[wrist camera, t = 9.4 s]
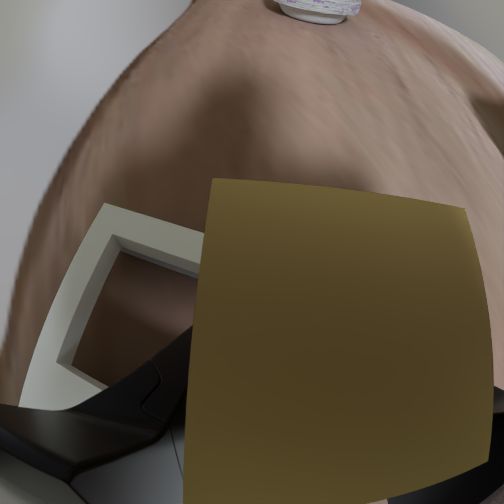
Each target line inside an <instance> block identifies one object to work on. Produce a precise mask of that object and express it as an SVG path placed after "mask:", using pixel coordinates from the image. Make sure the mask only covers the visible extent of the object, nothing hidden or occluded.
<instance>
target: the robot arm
mask: <svg viewBox="0 0 504 504" xmlns="http://www.w3.org/2000/svg"><path fill="white" fill-rule="evenodd" d="M192 331H193V325H192V326H191V327H190V328H189V329H187V330H186V331H185V332H183V333H182V334H181V335H180V336H178V337H177V338H176V339H175V340H173V341H172V342H171V343H169V344H168V345H167V346H166V347H164V348H163V349H162V350H161V351H159V352H158V353H157V354H155V355H154V356H153V357H152V358H150V360H148V361H146V362H145V363H144V364H142V365H141V366H140V367H138V368H137V369H136V370H134V371H133V372H131V373H130V374H129V375H127V376H126V377H124V378H122V379H121V380H119V381H118V382H116V383H114V384H113V385H111V386H109V387H108V388H106V389H104V390H103V391H101V392H99V393H97V394H96V395H94V396H92V397H90V398H89V399H87V400H85V401H83V402H82V403H80V404H78V405H76V406H74V407H71V408H68V409H64V410H43V409H34V408H26V407H18V406H12V405H6V404H0V504H183V469H184V441H185V421H186V404H187V389H188V376H189V364H190V352H191V341H192ZM387 501H388V504H504V390H502V389H500V388H498V387H496V386H494V397H493V419H492V432H491V442H490V450H489V457H488V461H487V462H485V463H483V464H481V465H479V466H477V467H475V468H473V469H471V470H468V471H466V472H464V473H462V474H459V475H457V476H455V477H452V478H450V479H447V480H445V481H442V482H439V483H437V484H434V485H431V486H428V487H425V488H422V489H419V490H416V491H413V492H410V493H406V494H403V495H399V496H396V497H392V498H388V499H387Z"/></svg>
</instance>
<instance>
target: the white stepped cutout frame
mask: <svg viewBox="0 0 504 504" xmlns="http://www.w3.org/2000/svg"><path fill="white" fill-rule="evenodd" d="M203 238H204V233H202V232H199V231H195V230H192V229H189V228H186V227H182V226H179V225H176V224H172V223H169V222H166V221H163V220H159V219H156V218H153V217H150V216H146V215H143V214H140V213H137V212H133V211H130V210H127V209H123V208H120V207H117V206H114V205H110V204H107V203H104V204H103V206H102V208H101V209H100V211H99V213H98V214H97V216H96V218H95V220H94V221H93V223H92V225H91V227H90V228H89V230H88V232H87V234H86V236H85V237H84V239H83V241H82V243H81V245H80V247H79V249H78V251H77V253H76V255H75V257H74V259H73V261H72V263H71V265H70V267H69V269H68V271H67V273H66V275H65V277H64V279H63V281H62V283H61V286H60V288H59V290H58V292H57V295H56V297H55V299H54V301H53V304H52V306H51V309H50V311H49V313H48V316H47V318H46V321H45V323H44V326H43V329H42V331H41V334H40V337H39V339H38V342H37V345H36V348H35V351H34V354H33V357H32V360H31V363H30V366H29V369H28V373H27V376H26V379H25V383H24V387H23V390H22V394H21V398H20V402H19V406H18V407H26V408H34V409H43V410H64V409H68V408H71V407H74V406H76V405H78V404H80V403H82V402H83V401H85V400H87V399H89V398H90V397H92V396H94V395H96V394H97V393H99V392H101V391H103V390H104V389H106V388H108V386H106V385H104V384H102V383H101V382H99V381H97V380H95V379H94V378H92V377H90V376H88V375H87V374H85V373H83V372H82V371H80V370H78V369H77V368H75V367H73V366H72V365H71V364H72V362H73V359H74V356H75V353H76V351H77V348H78V345H79V343H80V340H81V337H82V335H83V332H84V330H85V327H86V325H87V322H88V320H89V317H90V315H91V313H92V310H93V308H94V306H95V303H96V301H97V299H98V296H99V294H100V292H101V290H102V287H103V285H104V283H105V281H106V279H107V277H108V274H109V272H110V270H111V268H112V266H113V264H114V262H115V260H116V258H117V256H118V254H119V252H120V251H122V252H124V253H127V254H130V255H132V256H135V257H138V258H140V259H143V260H146V261H149V262H151V263H154V264H157V265H160V266H162V267H165V268H168V269H171V270H174V271H177V272H179V273H182V274H185V275H188V276H191V277H194V278H197V279H198V276H199V268H200V260H201V253H202V245H203Z"/></svg>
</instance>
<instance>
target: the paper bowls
mask: <svg viewBox="0 0 504 504" xmlns="http://www.w3.org/2000/svg"><path fill="white" fill-rule="evenodd" d="M273 1H276V2H278V3H279V5H280V7H281V9H282V11H283V12H284V13H285V14H287V15H289V16H291V17H293V18H296V19H299V20H303V21H307V22H312V23H318V24H338V23H340V22H342V21H343V20H344V19H345V18H346V16H347V15H356V14H358V12H359V10H360V6H361V0H273Z"/></svg>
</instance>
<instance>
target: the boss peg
mask: <svg viewBox="0 0 504 504" xmlns="http://www.w3.org/2000/svg"><path fill="white" fill-rule="evenodd" d="M493 397H494V375H493V352H492V339H491V328H490V320H489V312H488V305H487V299H486V293H485V287H484V282H483V277H482V272H481V267H480V263H479V258H478V254H477V250H476V246H475V242H474V239H473V235H472V232H471V228H470V225H469V221H468V218H467V215H466V212H465V209H464V208H460V207H455V206H450V205H445V204H439V203H434V202H429V201H423V200H417V199H411V198H405V197H399V196H393V195H386V194H380V193H373V192H365V191H358V190H350V189H342V188H334V187H325V186H315V185H305V184H295V183H284V182H271V181H257V180H242V179H223V178H212V184H211V191H210V197H209V204H208V210H207V217H206V224H205V231H204V238H203V245H202V253H201V260H200V268H199V276H198V284H197V293H196V302H195V311H194V321H193V331H192V341H191V352H190V364H189V376H188V389H187V404H186V421H185V441H184V469H183V504H366V503H371V502H376V501H380V500H384V499H388V498H392V497H396V496H399V495H403V494H406V493H410V492H413V491H416V490H419V489H422V488H425V487H428V486H431V485H434V484H437V483H439V482H442V481H445V480H447V479H450V478H452V477H455V476H457V475H459V474H462V473H464V472H466V471H468V470H471V469H473V468H475V467H477V466H479V465H481V464H483V463H485V462H487V461H488V457H489V450H490V442H491V432H492V419H493Z"/></svg>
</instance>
